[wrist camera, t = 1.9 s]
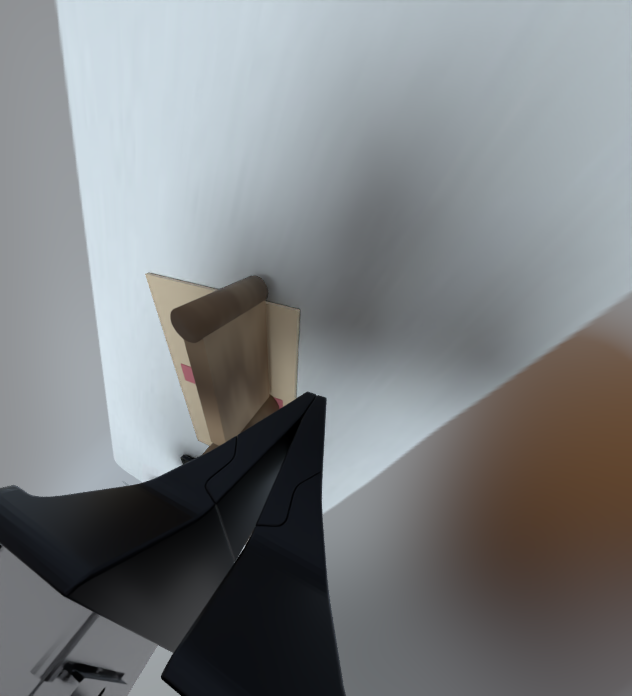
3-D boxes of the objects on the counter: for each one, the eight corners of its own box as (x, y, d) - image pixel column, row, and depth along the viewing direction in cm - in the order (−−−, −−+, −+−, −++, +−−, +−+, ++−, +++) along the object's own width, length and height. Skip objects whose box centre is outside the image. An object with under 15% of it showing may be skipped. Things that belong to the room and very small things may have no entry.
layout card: (292, 480, 26) (290, 484, 25) (199, 438, 29) (197, 440, 29) (299, 309, 15) (297, 311, 14) (148, 272, 18) (144, 273, 18)
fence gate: (271, 397, 18) (227, 453, 14) (254, 390, 19) (206, 443, 15) (267, 278, 13) (197, 312, 9) (243, 273, 14) (166, 304, 10)
